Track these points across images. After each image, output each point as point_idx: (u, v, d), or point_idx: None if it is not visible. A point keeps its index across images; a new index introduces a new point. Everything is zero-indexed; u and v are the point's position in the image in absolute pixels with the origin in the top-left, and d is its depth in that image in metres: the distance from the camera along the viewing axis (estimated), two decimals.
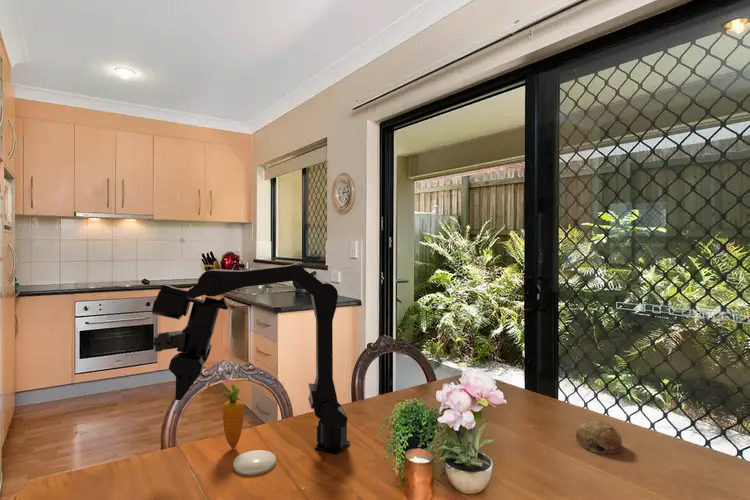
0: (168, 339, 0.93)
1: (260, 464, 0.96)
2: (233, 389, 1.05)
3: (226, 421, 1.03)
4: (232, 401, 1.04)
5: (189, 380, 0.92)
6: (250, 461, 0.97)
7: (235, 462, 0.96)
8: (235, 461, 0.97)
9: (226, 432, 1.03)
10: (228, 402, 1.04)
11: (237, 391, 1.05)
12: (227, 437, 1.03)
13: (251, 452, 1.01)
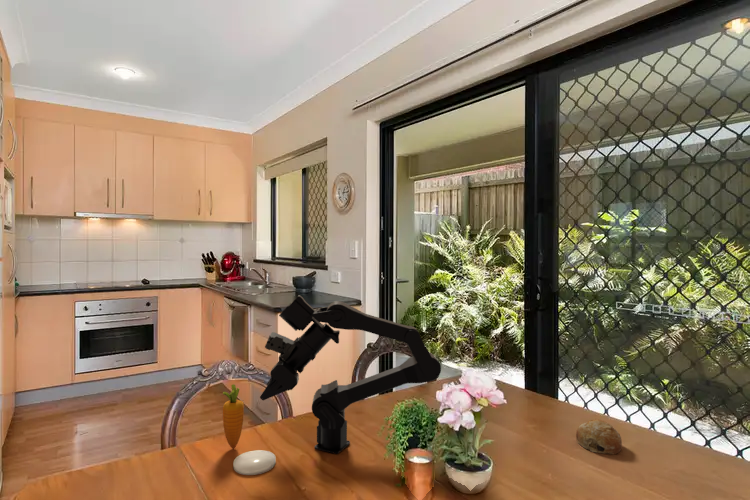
0: (281, 344, 1.01)
1: (260, 464, 0.96)
2: (233, 389, 1.05)
3: (226, 421, 1.03)
4: (232, 401, 1.04)
5: (279, 388, 0.99)
6: (250, 461, 0.97)
7: (235, 462, 0.96)
8: (235, 461, 0.97)
9: (226, 432, 1.03)
10: (228, 402, 1.04)
11: (237, 391, 1.05)
12: (227, 437, 1.03)
13: (251, 452, 1.01)
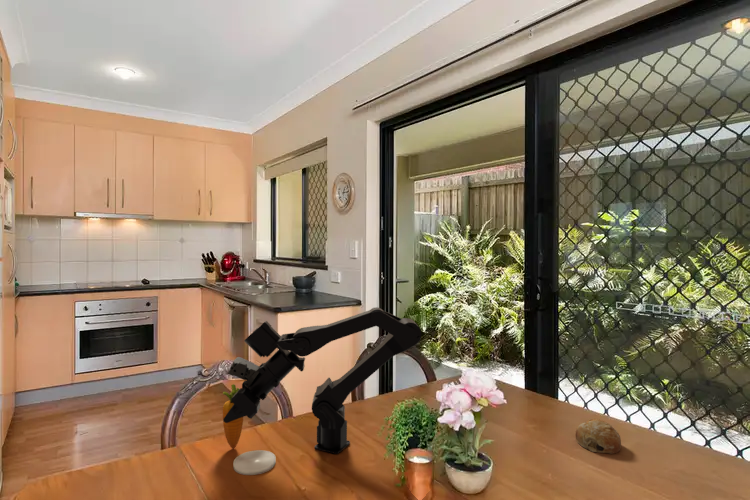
0: (244, 371, 1.00)
1: (260, 464, 0.96)
2: (233, 389, 1.05)
3: None
4: None
5: (242, 412, 1.01)
6: (250, 461, 0.97)
7: (235, 462, 0.96)
8: (235, 461, 0.97)
9: (226, 432, 1.03)
10: (228, 402, 1.04)
11: None
12: (227, 437, 1.03)
13: (251, 452, 1.01)
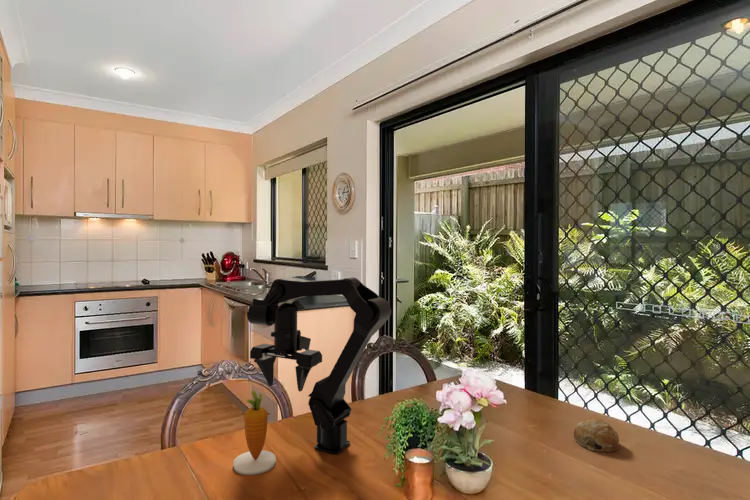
0: None
1: (260, 464, 0.96)
2: (254, 396, 0.98)
3: (252, 430, 0.95)
4: (256, 408, 0.97)
5: None
6: (250, 461, 0.97)
7: (235, 462, 0.96)
8: (235, 461, 0.97)
9: (251, 442, 0.96)
10: (251, 410, 0.97)
11: (260, 397, 0.98)
12: (252, 448, 0.96)
13: None
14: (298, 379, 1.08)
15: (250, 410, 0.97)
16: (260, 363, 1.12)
